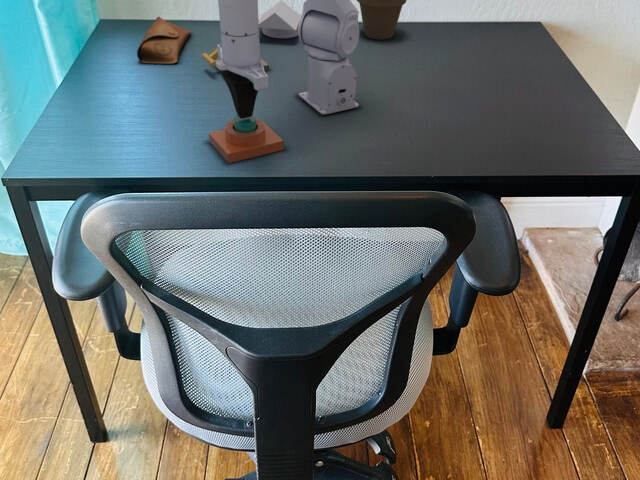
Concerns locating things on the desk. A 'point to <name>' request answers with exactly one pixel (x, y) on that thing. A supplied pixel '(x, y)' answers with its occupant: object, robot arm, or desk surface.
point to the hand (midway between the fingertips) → (244, 115)
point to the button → (245, 124)
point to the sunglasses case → (162, 43)
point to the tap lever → (211, 57)
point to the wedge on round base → (280, 21)
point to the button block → (245, 142)
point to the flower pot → (380, 17)
